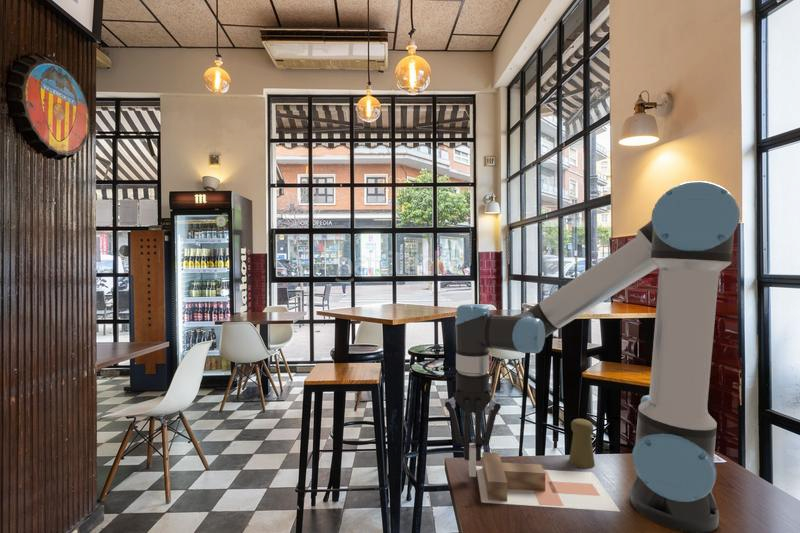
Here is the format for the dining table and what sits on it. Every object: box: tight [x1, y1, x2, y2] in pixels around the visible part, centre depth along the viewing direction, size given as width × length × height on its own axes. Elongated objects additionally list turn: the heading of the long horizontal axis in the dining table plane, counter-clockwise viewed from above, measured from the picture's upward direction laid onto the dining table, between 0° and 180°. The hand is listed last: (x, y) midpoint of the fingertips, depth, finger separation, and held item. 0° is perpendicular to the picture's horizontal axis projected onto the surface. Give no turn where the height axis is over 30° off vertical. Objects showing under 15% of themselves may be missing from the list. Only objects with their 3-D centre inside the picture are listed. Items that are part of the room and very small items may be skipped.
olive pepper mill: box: [568, 418, 596, 469], centre depth 106 cm, size 6×6×11 cm
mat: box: [476, 465, 621, 513], centre depth 94 cm, size 28×16×1 cm, turn 84°
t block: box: [481, 451, 545, 501], centre depth 95 cm, size 13×14×4 cm
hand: (472, 473), depth 96 cm, fingers closed
